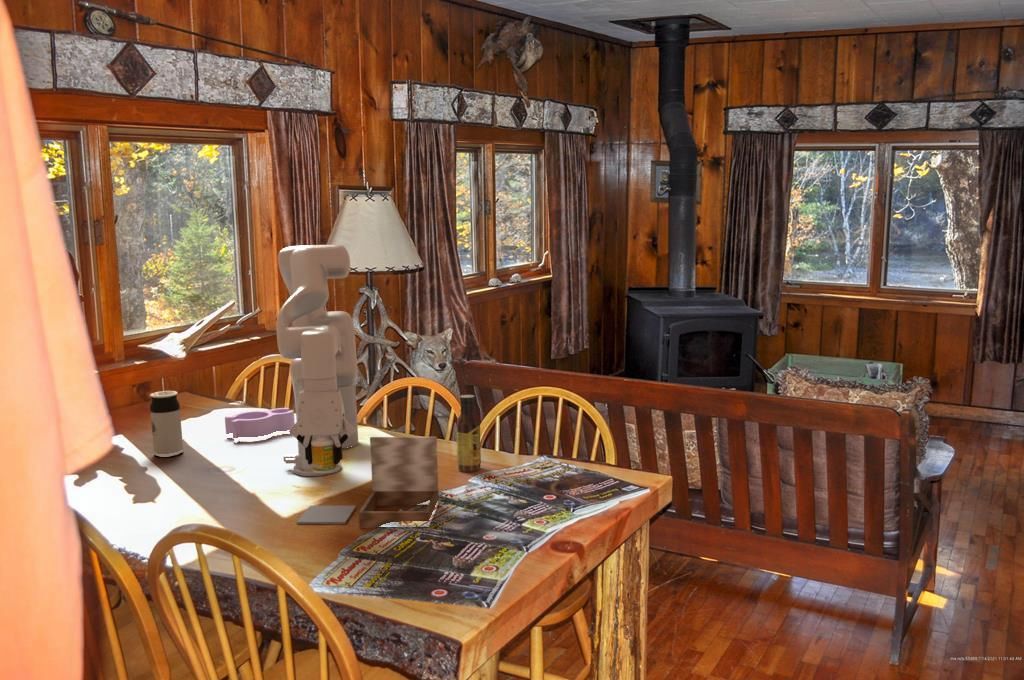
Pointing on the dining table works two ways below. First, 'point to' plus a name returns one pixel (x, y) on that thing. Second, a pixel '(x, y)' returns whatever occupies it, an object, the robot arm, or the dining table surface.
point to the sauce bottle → (468, 436)
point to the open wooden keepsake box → (401, 479)
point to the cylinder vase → (350, 413)
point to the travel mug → (166, 422)
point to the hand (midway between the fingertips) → (324, 462)
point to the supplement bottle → (323, 454)
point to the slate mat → (326, 515)
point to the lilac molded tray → (259, 422)
